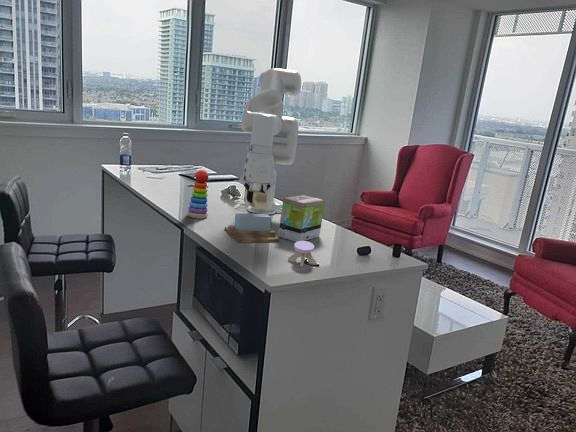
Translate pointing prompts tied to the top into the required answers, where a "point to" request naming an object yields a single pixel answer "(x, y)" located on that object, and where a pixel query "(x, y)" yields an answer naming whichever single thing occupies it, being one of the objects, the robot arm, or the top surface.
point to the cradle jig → (252, 235)
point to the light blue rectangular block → (252, 222)
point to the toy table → (303, 252)
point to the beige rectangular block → (256, 199)
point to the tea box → (301, 218)
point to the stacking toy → (199, 196)
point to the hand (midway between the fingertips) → (255, 201)
